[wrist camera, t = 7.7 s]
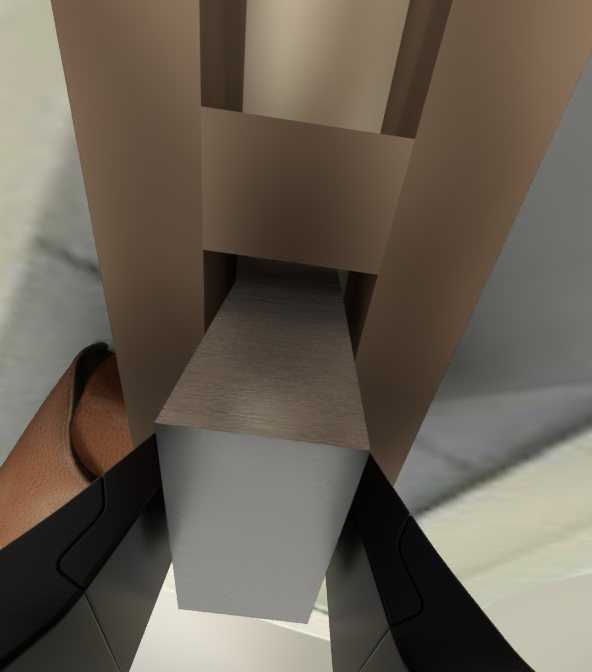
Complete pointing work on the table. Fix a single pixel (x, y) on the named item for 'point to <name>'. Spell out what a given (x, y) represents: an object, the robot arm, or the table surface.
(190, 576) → the grey block
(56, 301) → the table surface
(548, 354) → the table surface
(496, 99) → the post block
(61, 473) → the sunglasses case
